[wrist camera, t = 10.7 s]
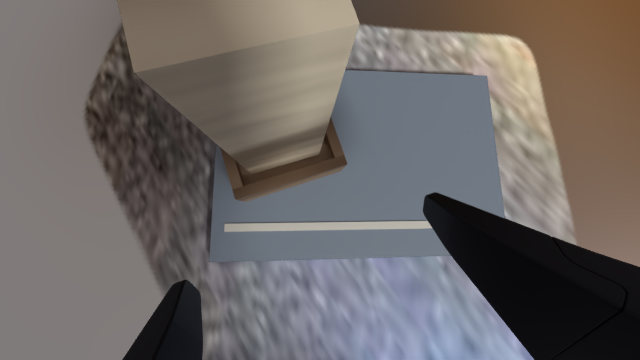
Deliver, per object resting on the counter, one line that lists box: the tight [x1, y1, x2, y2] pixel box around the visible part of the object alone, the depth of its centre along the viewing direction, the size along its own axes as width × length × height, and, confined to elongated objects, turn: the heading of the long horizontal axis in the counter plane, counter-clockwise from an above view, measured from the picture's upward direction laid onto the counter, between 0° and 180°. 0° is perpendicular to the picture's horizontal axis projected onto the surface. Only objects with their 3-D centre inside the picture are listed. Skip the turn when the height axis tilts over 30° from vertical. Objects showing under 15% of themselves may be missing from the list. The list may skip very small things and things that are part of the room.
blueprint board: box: [209, 70, 505, 262], centre depth 20 cm, size 16×24×1 cm, turn 91°
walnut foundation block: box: [220, 117, 347, 202], centre depth 18 cm, size 8×8×3 cm
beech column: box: [117, 0, 359, 174], centre depth 11 cm, size 5×5×12 cm
